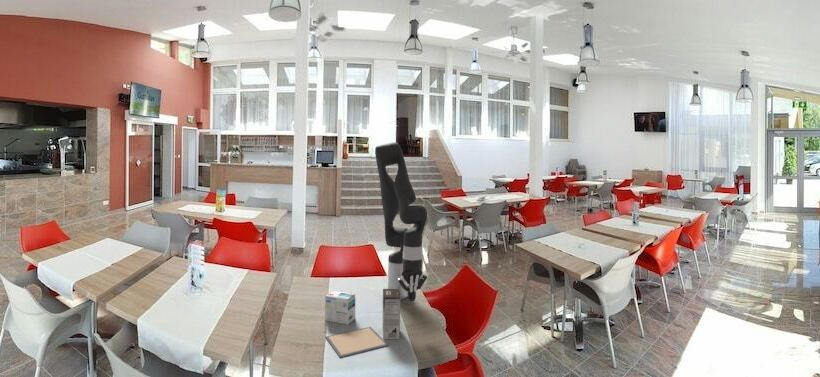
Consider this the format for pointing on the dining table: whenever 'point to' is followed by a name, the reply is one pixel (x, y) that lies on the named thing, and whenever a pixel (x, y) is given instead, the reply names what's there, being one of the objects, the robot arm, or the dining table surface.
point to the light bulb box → (340, 307)
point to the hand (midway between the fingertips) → (411, 300)
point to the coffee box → (391, 314)
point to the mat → (356, 342)
